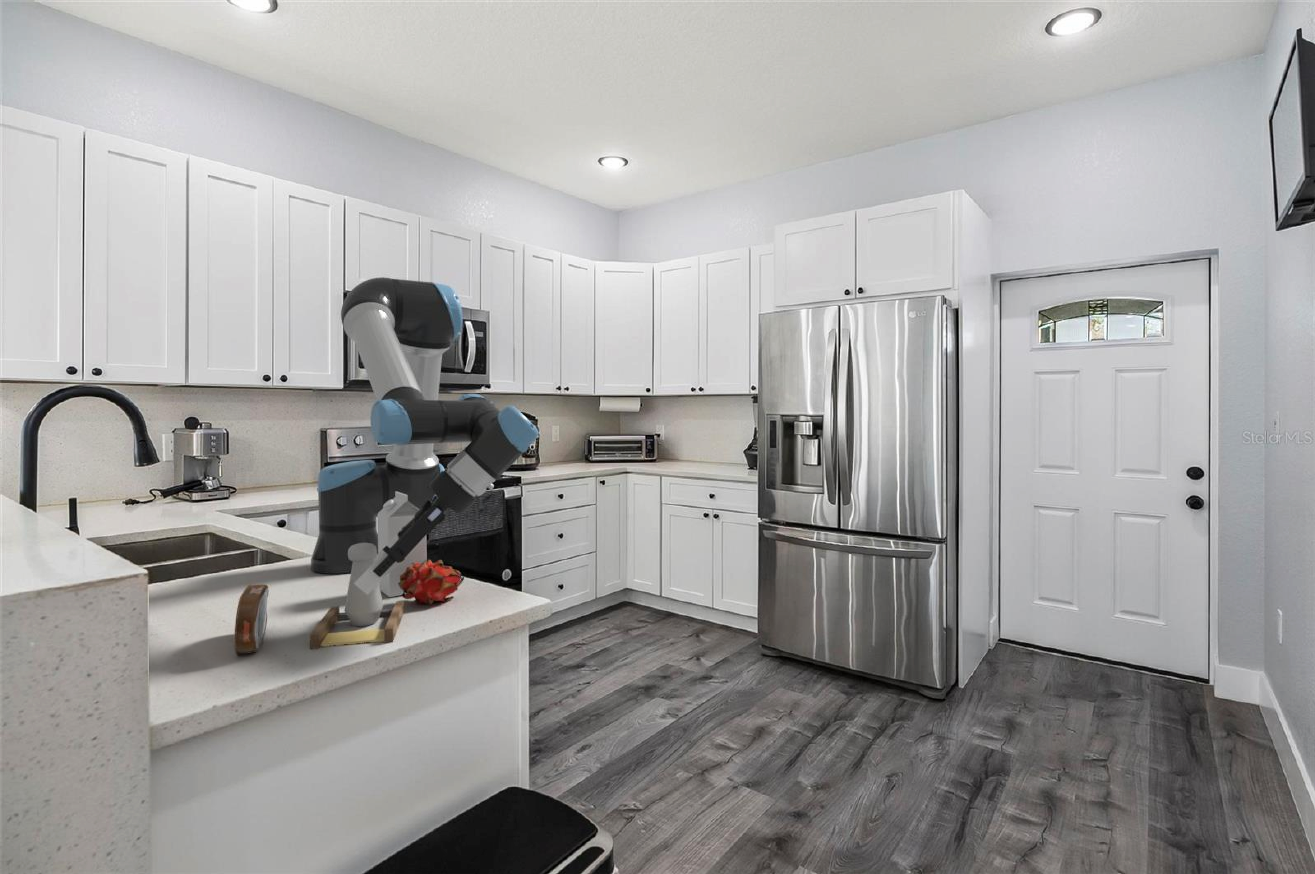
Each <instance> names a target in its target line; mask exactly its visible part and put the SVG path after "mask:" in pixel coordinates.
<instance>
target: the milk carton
mask: <svg viewBox="0 0 1315 874" xmlns="http://www.w3.org/2000/svg"><path fill="white" fill-rule="evenodd" d="M418 511H419V509H418V508H417V507H415V506H414V505H413V504H411V503H410V502H409V501H408V497H407V495H406V494H403V493H399V492H395V498H394V499H393V500H392V499H391V500H389V501H387V502H386V503H385V504H384V505H383V509H382V510H381V511H380V512H379V513H378V517H377V533H378V553H379V552H380V551H381V550H382V549H383V548H384V547H385V546H386V545H387V544H388V543H389V542H390V541H391V540H392V539H393V538H394V537H395V536H397V537H399V536H398V532H399V531H401V530H402V528H403V527H404V526H406V525H407V524H408V523H409V522H410V521H411V520H412V519H413V518H414V517H415V514H416V513H417V512H418ZM427 556H428V555H427V535H426V536H425V537H424V538H423V539H422V540H421V541H420V542H419V543H418V544H417V545H416V546H415V547H414V549H413V550H412V551H411V552H410V553H409V554H408V555H407V556H406V557H405V559H404V561H402V562H399V564H398V565H397V566H396V567H395V568H394V569H393V570H392V571H391V572H390V573H389V574H388V575H387V576H386V577H385V578H384V579H383V580H382V581H381V582H380V583H379V588H380V592H381V593H384V595H386V596H387V597H389V598H392V597H399V596H402V594H403V592H404V591H403V590H402V589H401V588H400V586H399V584H398V583H399V582H400V575H402V574H403V573H404V572H406V569H407V567H410V566H412V567H413V566H414V564H412V563H414V562H417V563H419V564H422V563H423V561H425V560H426V561H428V559H427ZM404 593H405V592H404ZM405 595H406V593H405Z"/></svg>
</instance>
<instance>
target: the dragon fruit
mask: <svg viewBox="0 0 1315 874" xmlns="http://www.w3.org/2000/svg"><path fill="white" fill-rule="evenodd" d="M412 564H414V566H413V567H412V566H410V567H407V569H406V572H404V573H403V574H402V575H400V582H399V583H398V584H399V586H400V588H401V589H402V590H403V591H404V592H405V593H406V594H405V593H404V592H403V594H402V595H401V597H402V598H404V599H405V600H410V599H415V603H416V604H417V605H420V604H422V603H425V604H429V605H432V604H433V603H434V602H442V603H443V602H444V603H445V602H446V601H447V602H450V601H451V600H452V599H454V596H450V595H452V594H454V593H455V592H456V591H458V587H459V586H460V585H461V584H463V582H464V580H465V576H463V574H462V573H461V572H460V571H459V570H457V569H453V567H452V566H451V565H450V566H449V565H444V562H443V560H442V559H438V560H437V561H436V562H432V560H431V559H427V561H426V560H425V561H423V563H422V564H419V563H417V562H414V563H412ZM449 596H450V597H449Z"/></svg>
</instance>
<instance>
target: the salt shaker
mask: <svg viewBox="0 0 1315 874" xmlns="http://www.w3.org/2000/svg"><path fill="white" fill-rule="evenodd" d="M376 555H377V549H376V546H375V545H373V544H371V543H358V544H355V545H352V546H351V547H350V548H349V549H348V558H349V560H351V561H353V563H352V570H351V573H350V577H349V583H348V588H347V589H348V590H347V593H346V599H345V605H344V612H345V614H346V615H347V617H348V618H349V619H348V620H349V621H350V624H351V625H352V626H355V627H366V626H370V625H374V624H375V623H376V622H377V621H378V620H379V618H380V617H379V616H380V614H381V611H382V610H384V609H383V608H384V602H383V597H382V591H381V590H380V588H379V584H378V585H377V586H376V587H375V588H374V589H373V590H372V591H371V592H370V593H369V594H368V595H367V594H366V593H365V592H363V591H362V590H361V589H360V588H359V587H357V586H356V585H355V584H354V583H355V582H356V581H357V580H358V579H359V578H360V577H361V576H362V575H363V574H364V572H365V571H366V570H367V569H368V568H369V567H370V566H371V565H372V564H373V563H374V561H373V559H374V558H375V557H376Z"/></svg>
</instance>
